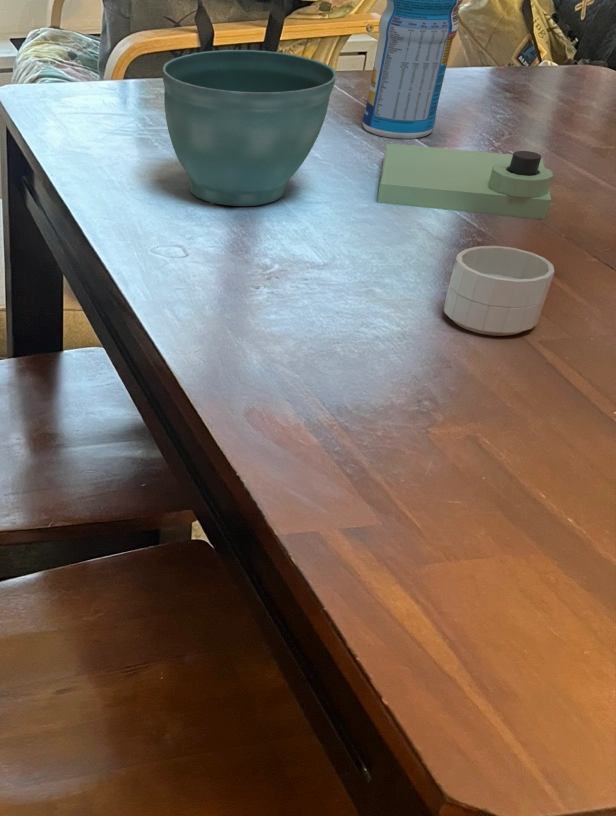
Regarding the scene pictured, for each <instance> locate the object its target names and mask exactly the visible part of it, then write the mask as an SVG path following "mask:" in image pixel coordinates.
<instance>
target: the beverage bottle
mask: <svg viewBox="0 0 616 816" xmlns="http://www.w3.org/2000/svg"><path fill="white" fill-rule="evenodd" d="M463 1H464V0H386V7H385V9H384V10H383V12H382V13H381V15H380V19H379V22H378V40H377V45H376V51H375V58H374V63H373V68H372V74H371V79H370V84H369V89H368V95H367V100H366V105H365V109H364V112H363V117H362V127H363V129H364V130H365V131H367V132H368V133H370V134H373V135H375V136H379V137H383V138H389V139H395V140H396V139H397V140H414V139H420V138H424V137H426V136H429V135H430V134H431V133H432V132H433V130H434V128H435V123H436V117H437V111H438V105H439V100H440V96H441V91H442V87H443V83H444V79H445V74H446V70H447V66H448V62H449V58H450V53H451V50H452V44H453V40H454V39H455V38H456V36H457V32H458V30H459V29H458V28H459V22H460V21H459V16H458V9H459V7H460V6H461V5H462V3H463Z"/></svg>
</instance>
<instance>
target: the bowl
mask: <svg viewBox="0 0 616 816" xmlns="http://www.w3.org/2000/svg"><path fill="white" fill-rule="evenodd" d="M554 274H555V267H554V264H553V263H551V262H550V261H549V260H548V259H547V258H546V257H543V256H541V255H539V254H536V253H534V252H532V251H528V250H524V249H521V248H520V249H519V248H516V247H510V246H499V245H479V246H473V247H469V248H465V249H463V250H462V251H460V252H458V253H457V254H456V257H455V262H454V265H453V269H452V273H451V277H450V281H449V285H448V287H447V292H446V295H445V299H444V303H443V312H444V314H445V315H446V316H447V317H448V318H449V319H450V320H451V321H452V322H453V323H454V324H456V325H457V326H458V327H459V328H462V329H464V330H467V331H469V332H471V333H472V332H473V333H475V334H479V335H484V336H485V335H486V336H495V337H496V336H497V337H502V336H503V337H504V336H505V337H507V336H513V335H518V334H520V333H522V332H525V331H528V330H531V329H533V328H534V327H535V326H536V325H537V324H538V323H539V320H540V317H541V314H542V311H543V308H544V305H545V302H546V299H547V296H548V292H549V290H550V286H551V284H552V280H553V277H554Z"/></svg>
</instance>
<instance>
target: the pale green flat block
mask: <svg viewBox="0 0 616 816" xmlns="http://www.w3.org/2000/svg"><path fill="white" fill-rule="evenodd" d="M512 156H513V154H511V153H499V152H489V151H477V150H465V149H456V148H443V147H433V146H432V147H431V146H422V145H410V144H401V143H390V142H389V143H386V146H385V150H384V155H383V160H382V167H381V173H380V179H379V180H380V181H379V187H378V192H377V201H376V203H378V204H386V205H394V206H395V205H396V206H405V207H406V206H407V207H416V208H427V209H435V210H436V209H437V210H448V211H455V212H456V211H457V212H464V213H465V212H467V213H477V214H486V215H498V216H506V217H517V218H526V219H537V220H546V218H547V216H548V212H549V209H550V206H551V203H552V197H551V196H552V195H551V192H550V187H551V184H552V181H553V178H554V174H553V171H552V170H551V169H549V168H547V167H545V165H544V160H543V156H541V160H540V164H539V167H538V170H537V174H536V175H534V176H524V175H517V174H513V173H510V172H508V170H509V167H510V163H511V160H512Z"/></svg>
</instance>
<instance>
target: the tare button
mask: <svg viewBox="0 0 616 816" xmlns="http://www.w3.org/2000/svg"><path fill="white" fill-rule="evenodd" d="M512 155H513V156H512V160H511V163H510V167H509V170H508V172H510V173H513V174H517V175H524V176H534V175H536V174H537V170H538V167H539V164H540V160H541V157H542V155H541V154H540V153H537V152H536V151H535V152H534V151H531V150H517V151H514V152H513V153H512Z"/></svg>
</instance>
